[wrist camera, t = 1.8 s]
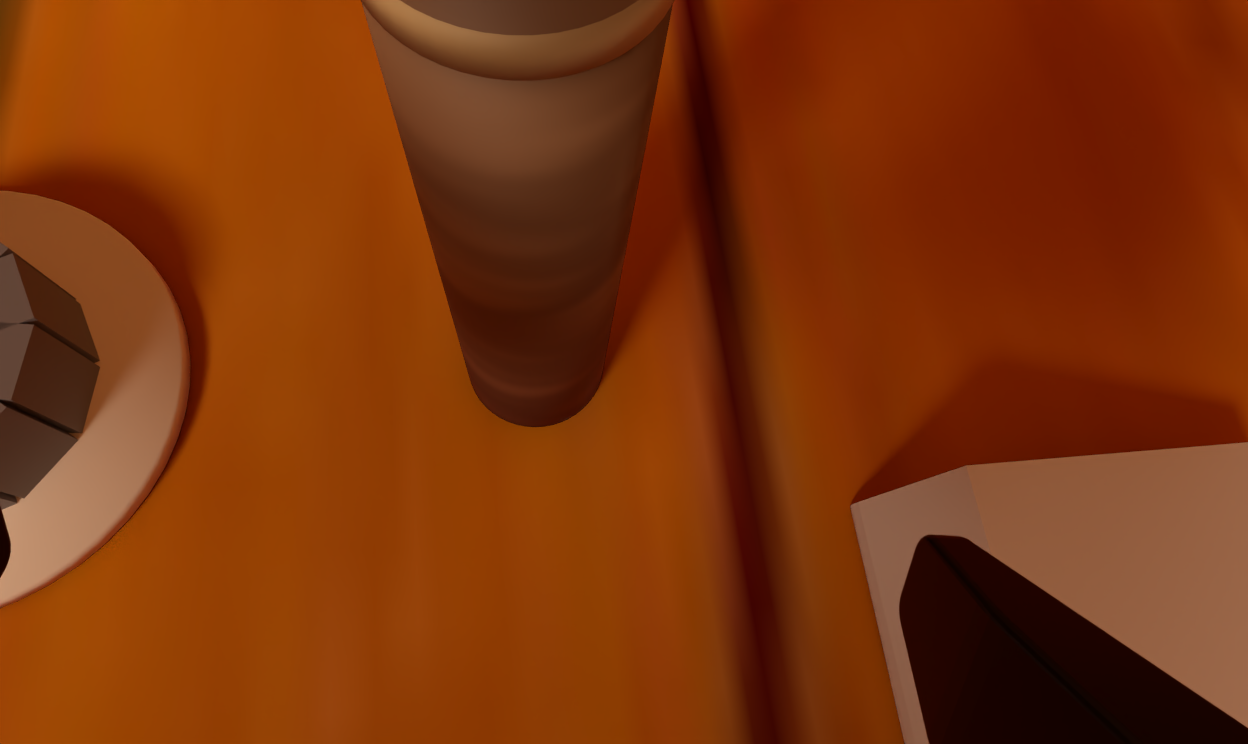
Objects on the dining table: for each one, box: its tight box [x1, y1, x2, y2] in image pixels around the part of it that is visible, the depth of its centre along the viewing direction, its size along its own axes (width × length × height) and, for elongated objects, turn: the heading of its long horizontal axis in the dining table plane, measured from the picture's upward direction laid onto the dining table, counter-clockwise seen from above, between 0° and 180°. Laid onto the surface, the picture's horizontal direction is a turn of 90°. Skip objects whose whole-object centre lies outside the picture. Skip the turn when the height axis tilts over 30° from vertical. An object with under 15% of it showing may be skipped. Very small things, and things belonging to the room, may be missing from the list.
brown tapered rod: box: [361, 0, 674, 427], centre depth 15 cm, size 4×4×15 cm
